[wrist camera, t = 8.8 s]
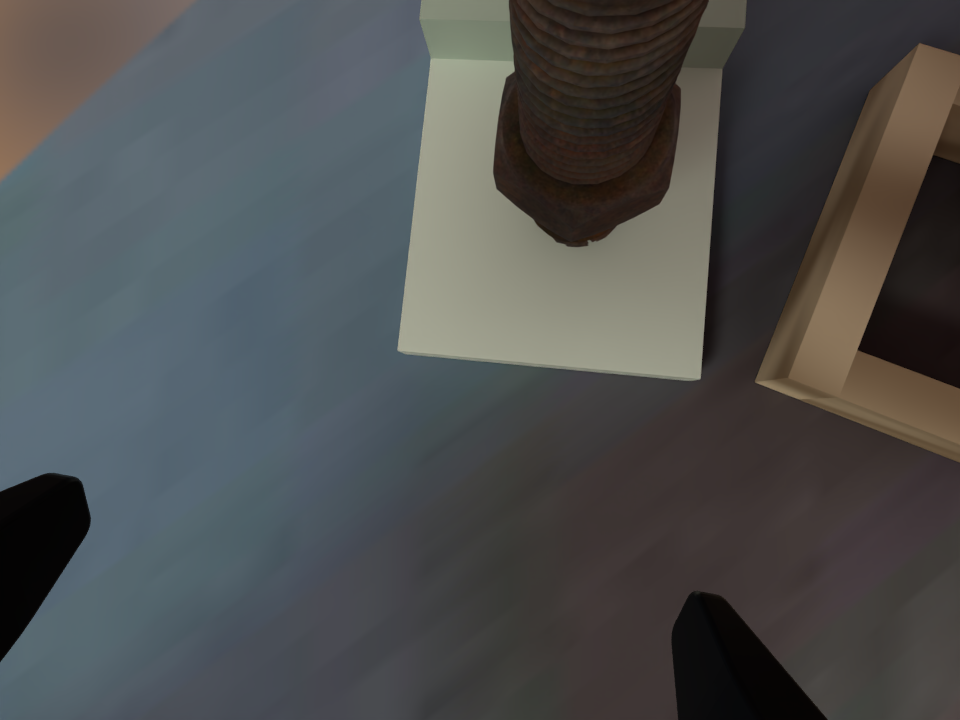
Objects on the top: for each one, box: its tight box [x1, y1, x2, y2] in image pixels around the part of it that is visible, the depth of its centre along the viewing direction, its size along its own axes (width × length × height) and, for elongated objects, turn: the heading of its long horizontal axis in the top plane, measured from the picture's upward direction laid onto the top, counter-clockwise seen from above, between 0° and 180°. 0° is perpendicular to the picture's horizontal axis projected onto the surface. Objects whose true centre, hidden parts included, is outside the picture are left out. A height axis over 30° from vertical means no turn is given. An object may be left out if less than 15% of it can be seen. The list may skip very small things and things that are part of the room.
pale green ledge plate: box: [398, 0, 747, 381], centre depth 18 cm, size 12×10×3 cm
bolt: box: [493, 0, 709, 247], centre depth 11 cm, size 6×5×15 cm
